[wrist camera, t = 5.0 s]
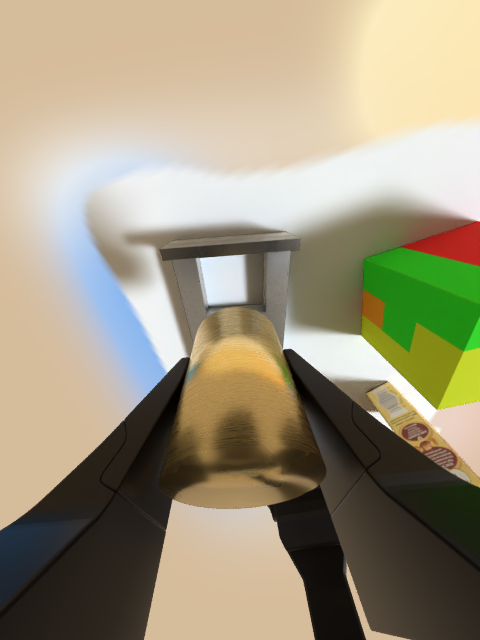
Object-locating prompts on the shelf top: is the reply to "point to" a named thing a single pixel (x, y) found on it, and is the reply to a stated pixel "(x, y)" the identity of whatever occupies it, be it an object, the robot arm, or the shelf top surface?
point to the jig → (192, 250)
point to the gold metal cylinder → (239, 420)
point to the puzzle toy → (428, 314)
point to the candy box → (419, 431)
